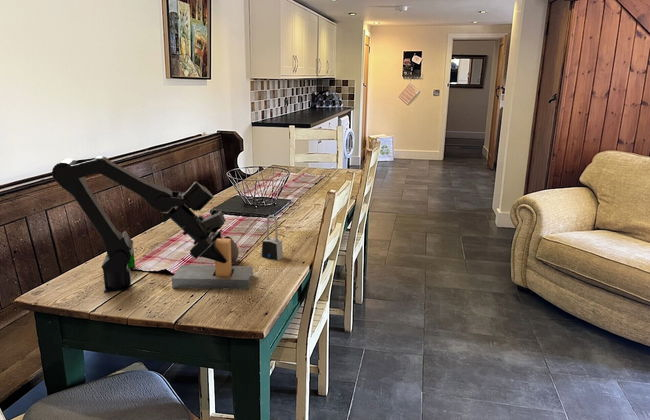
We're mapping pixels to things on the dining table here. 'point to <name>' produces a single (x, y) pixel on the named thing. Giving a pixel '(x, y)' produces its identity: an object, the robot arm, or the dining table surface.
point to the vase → (233, 250)
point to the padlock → (272, 244)
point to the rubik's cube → (131, 261)
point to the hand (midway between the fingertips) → (227, 258)
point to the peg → (225, 250)
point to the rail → (211, 277)
